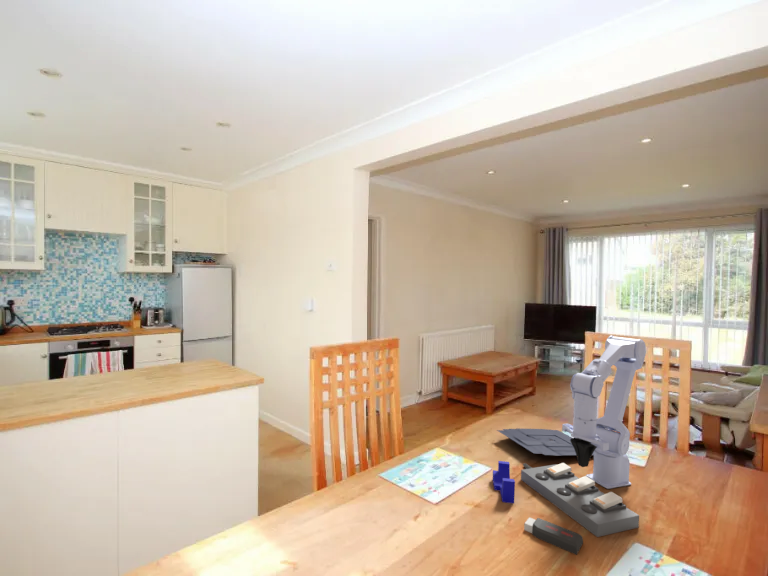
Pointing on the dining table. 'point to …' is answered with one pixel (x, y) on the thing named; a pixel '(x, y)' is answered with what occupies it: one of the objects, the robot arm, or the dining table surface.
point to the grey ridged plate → (542, 441)
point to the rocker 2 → (607, 500)
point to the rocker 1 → (559, 469)
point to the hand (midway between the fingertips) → (583, 465)
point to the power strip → (579, 502)
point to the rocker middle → (582, 483)
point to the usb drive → (554, 534)
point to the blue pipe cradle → (504, 482)
